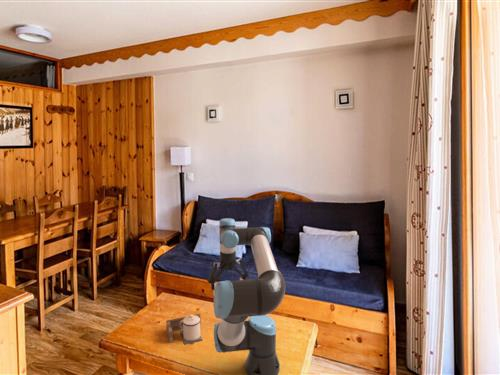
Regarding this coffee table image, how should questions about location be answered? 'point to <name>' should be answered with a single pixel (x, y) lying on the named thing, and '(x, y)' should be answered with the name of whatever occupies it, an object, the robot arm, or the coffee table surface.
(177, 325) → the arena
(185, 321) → the teacup with lid
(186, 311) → the coffee table surface
